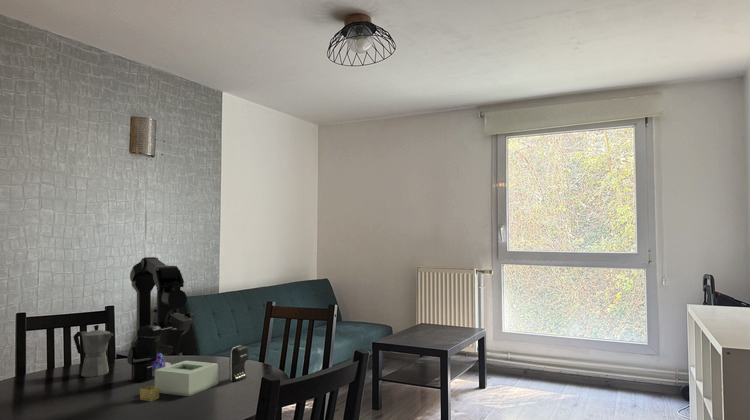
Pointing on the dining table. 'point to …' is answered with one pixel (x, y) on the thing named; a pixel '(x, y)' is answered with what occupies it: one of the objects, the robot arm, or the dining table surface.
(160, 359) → the pudding
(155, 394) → the khaki wooden block
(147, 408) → the dining table surface
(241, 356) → the battery charger
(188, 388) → the open box
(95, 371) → the coffeepot
